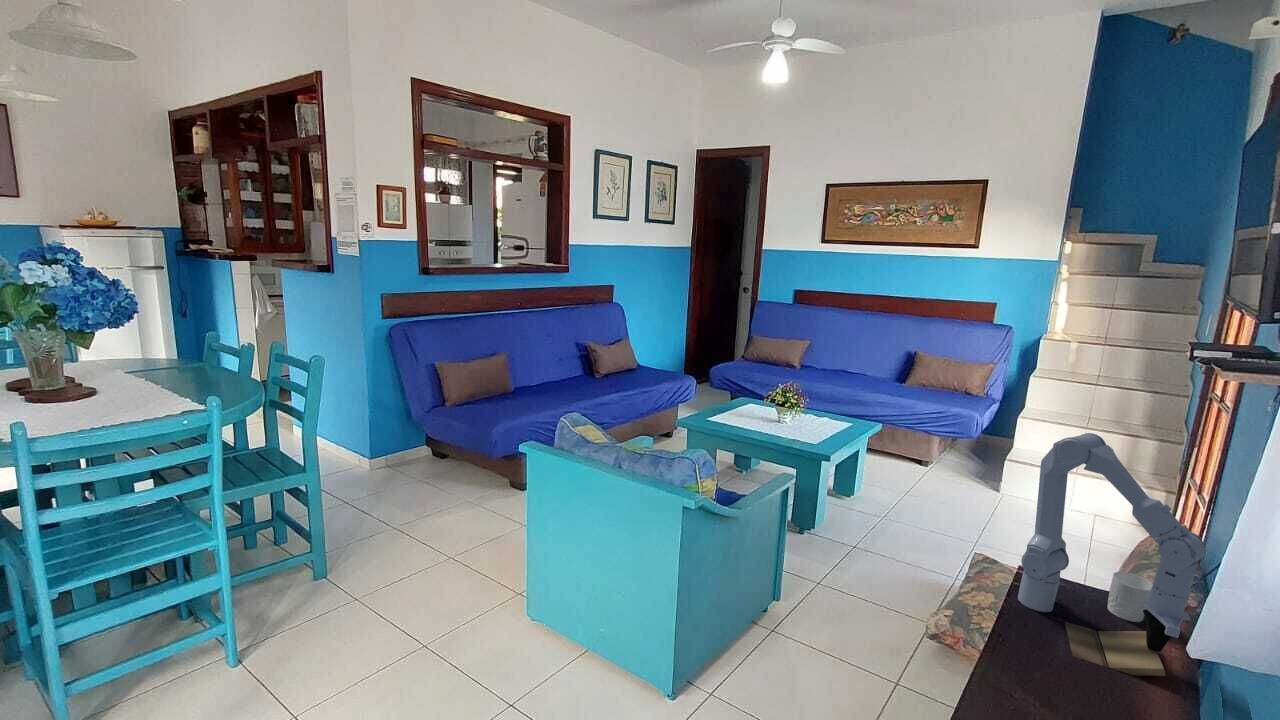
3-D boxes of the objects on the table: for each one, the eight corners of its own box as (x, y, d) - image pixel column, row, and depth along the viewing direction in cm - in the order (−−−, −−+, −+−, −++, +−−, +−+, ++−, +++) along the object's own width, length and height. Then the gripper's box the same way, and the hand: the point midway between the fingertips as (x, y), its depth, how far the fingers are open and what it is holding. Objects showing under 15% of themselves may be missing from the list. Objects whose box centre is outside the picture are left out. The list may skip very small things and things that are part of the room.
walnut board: (1063, 627, 146) (1064, 621, 146) (1094, 636, 144) (1096, 630, 143) (1071, 662, 134) (1072, 655, 134) (1105, 673, 131) (1107, 666, 131)
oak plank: (1099, 637, 143) (1097, 631, 143) (1148, 637, 139) (1147, 631, 139) (1110, 674, 131) (1109, 667, 131) (1165, 675, 127) (1164, 668, 127)
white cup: (1099, 616, 152) (1109, 578, 150) (1107, 604, 157) (1117, 568, 155) (1140, 633, 146) (1151, 594, 144) (1147, 621, 152) (1158, 583, 149)
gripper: (1206, 614, 122) (1187, 676, 125) (1184, 579, 134) (1168, 636, 137) (1160, 602, 125) (1143, 663, 128) (1143, 569, 138) (1128, 625, 141)
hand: (1153, 648), depth 133 cm, fingers closed, pressing on oak plank
